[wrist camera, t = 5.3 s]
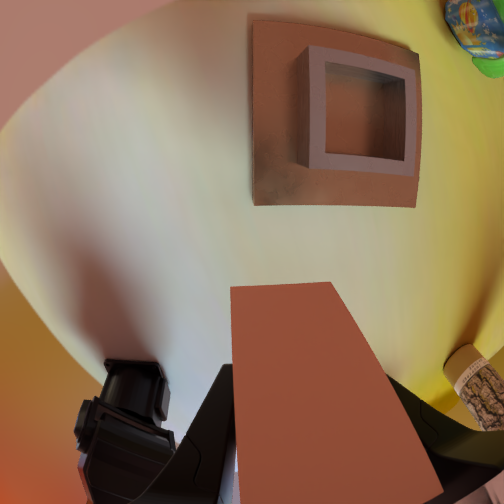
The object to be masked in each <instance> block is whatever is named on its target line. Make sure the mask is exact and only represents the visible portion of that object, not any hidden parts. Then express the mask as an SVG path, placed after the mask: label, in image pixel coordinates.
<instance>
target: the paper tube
mask: <svg viewBox="0 0 504 504" xmlns="http://www.w3.org/2000/svg"><path fill="white" fill-rule="evenodd" d="M444 375H445V377H446V378H447V380H448V381H449V382H450V384H451V385H452V386H453V388H454V389H455V391H456V392H457V394H458V395H459V396H460V398H461V399H462V401H463V402H464V404H465V405H466V407H467V408H468V410H469V411H470V413H471V414H472V416H473V417H474V419H475V420H476V422H477V423H478V425H479V426H480V428H481V430H482V431H496V430H504V380H503V379H502V378H501V377H500V376H499V374H498V373H497V372H496V371H495V370H494V368H493V367H492V366H491V365H490V364H489V362H488V361H487V360H486V359H485V358H484V357H483V356H482V355H481V354H480V352H479V351H478V350H477V349H476V348H475V347H474V346H473V345H472V344H466V345H464V346H462V347H461V348H459V349H458V350H457V351H456V352H455V353H454V354H453V355H452V356H451V357H450V358H449V360H448V361H447V363H446V365H445V367H444Z"/></svg>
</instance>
